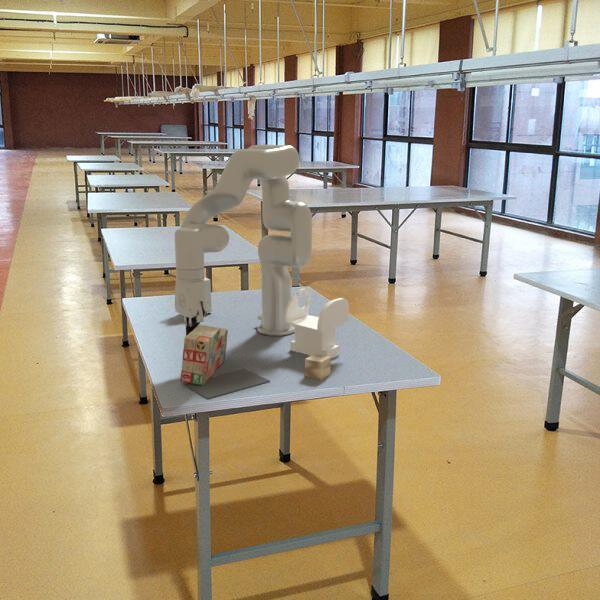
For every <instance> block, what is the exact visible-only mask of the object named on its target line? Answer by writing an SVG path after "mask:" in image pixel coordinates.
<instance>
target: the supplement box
mask: <svg viewBox="0 0 600 600" xmlns="http://www.w3.org/2000/svg"><path fill="white" fill-rule="evenodd" d="M204 284H205V292H206V304H207V312H206V313H210V312H212V313H213V309H212V307H213V306H212V286H211V284H212V283H211V279H209V278H208V277H205V279H204Z"/></svg>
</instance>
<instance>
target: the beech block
mask: <svg viewBox="0 0 600 600" xmlns="http://www.w3.org/2000/svg"><path fill="white" fill-rule="evenodd" d="M330 375H331V359H330V357H329V356H323V355H318V354H313V355H311V356H309V355H308V357H306V358H304V377H306V376H308V377H307V378H311V377H313V378H312V379H315V378H317V379H316V380H320V379H322V380H323V379H325V378H326V377H328V376H330Z"/></svg>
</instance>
